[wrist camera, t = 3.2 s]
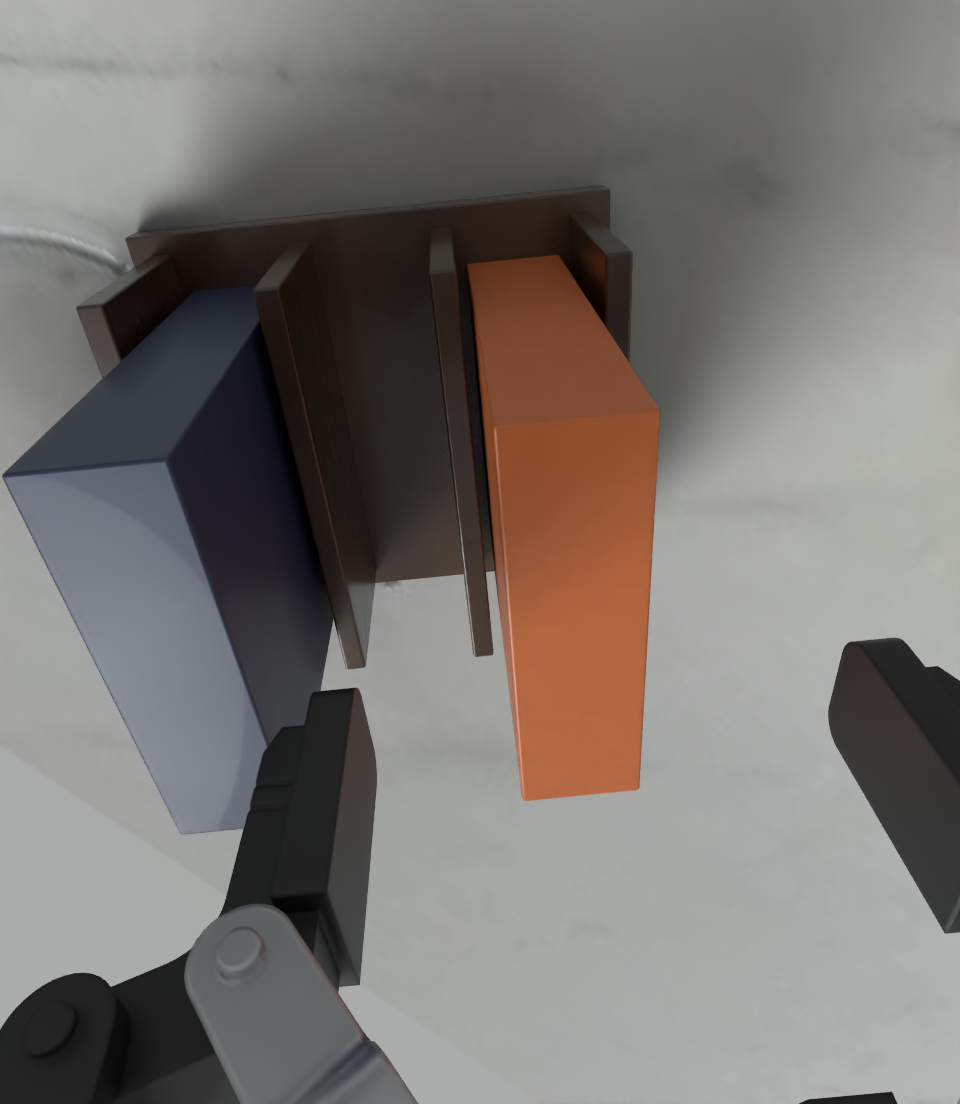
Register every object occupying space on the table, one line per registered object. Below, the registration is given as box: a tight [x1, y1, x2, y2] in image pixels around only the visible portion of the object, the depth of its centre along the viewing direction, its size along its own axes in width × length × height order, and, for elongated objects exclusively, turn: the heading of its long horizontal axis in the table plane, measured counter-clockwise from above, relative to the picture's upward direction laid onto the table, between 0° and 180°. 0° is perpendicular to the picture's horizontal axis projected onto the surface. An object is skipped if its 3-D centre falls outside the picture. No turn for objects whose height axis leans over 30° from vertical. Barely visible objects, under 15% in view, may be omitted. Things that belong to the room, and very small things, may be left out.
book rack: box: [77, 186, 633, 669], centre depth 21 cm, size 13×12×6 cm
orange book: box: [466, 255, 660, 801], centre depth 18 cm, size 3×9×11 cm, turn 5°
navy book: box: [3, 285, 333, 834], centre depth 18 cm, size 3×9×11 cm, turn 5°
